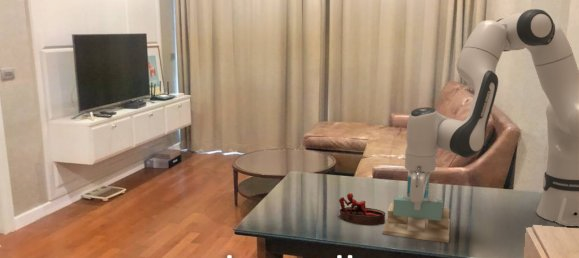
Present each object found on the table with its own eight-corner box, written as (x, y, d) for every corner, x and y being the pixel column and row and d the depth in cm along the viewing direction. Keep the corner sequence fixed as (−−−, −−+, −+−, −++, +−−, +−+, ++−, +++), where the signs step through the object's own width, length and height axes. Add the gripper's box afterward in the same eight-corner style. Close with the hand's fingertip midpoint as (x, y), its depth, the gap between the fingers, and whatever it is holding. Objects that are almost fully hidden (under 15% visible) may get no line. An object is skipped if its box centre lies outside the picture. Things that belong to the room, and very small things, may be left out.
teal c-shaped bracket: (442, 207, 154) (443, 192, 153) (441, 220, 143) (442, 204, 142) (397, 202, 158) (398, 187, 157) (393, 215, 147) (393, 199, 146)
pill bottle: (430, 204, 170) (432, 167, 168) (409, 204, 171) (411, 167, 168) (424, 197, 178) (426, 161, 175) (404, 197, 178) (406, 161, 175)
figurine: (337, 225, 153) (337, 191, 155) (340, 226, 162) (340, 194, 165) (385, 226, 150) (385, 192, 153) (385, 227, 159) (384, 195, 162)
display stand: (449, 222, 154) (450, 207, 153) (448, 243, 139) (449, 226, 138) (389, 215, 160) (390, 200, 159) (382, 234, 146) (383, 218, 145)
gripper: (429, 173, 132) (426, 220, 135) (433, 155, 151) (430, 197, 154) (405, 171, 134) (403, 218, 137) (412, 153, 153) (410, 195, 156)
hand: (417, 206), depth 146 cm, fingers open, 3 cm apart
